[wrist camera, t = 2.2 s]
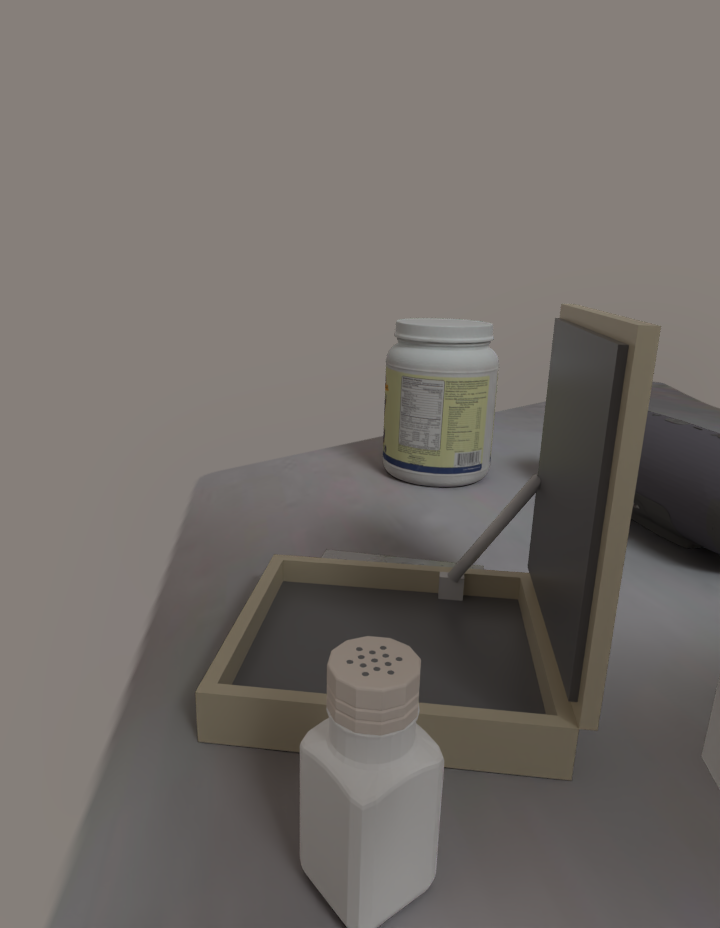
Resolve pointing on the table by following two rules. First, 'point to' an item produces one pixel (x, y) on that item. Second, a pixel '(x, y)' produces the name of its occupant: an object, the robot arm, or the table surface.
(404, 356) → the supplement tub
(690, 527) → the bluetooth speaker
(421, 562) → the bar
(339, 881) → the pepper shaker
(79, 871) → the table surface
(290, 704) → the case
